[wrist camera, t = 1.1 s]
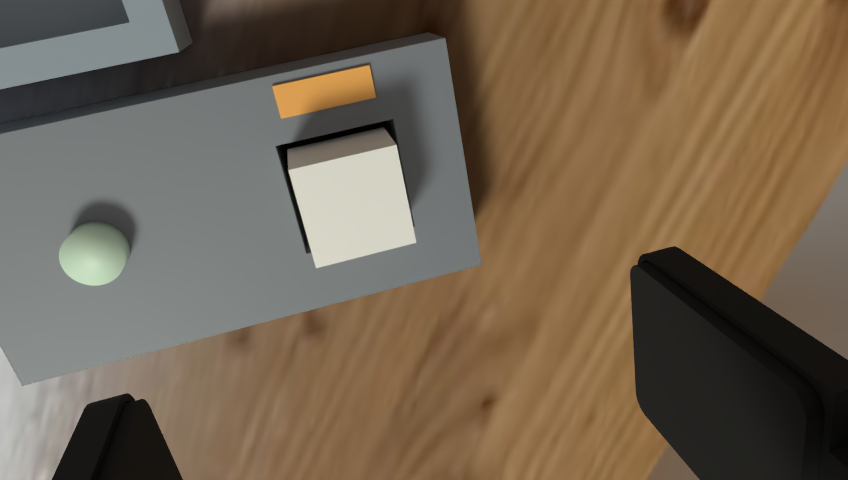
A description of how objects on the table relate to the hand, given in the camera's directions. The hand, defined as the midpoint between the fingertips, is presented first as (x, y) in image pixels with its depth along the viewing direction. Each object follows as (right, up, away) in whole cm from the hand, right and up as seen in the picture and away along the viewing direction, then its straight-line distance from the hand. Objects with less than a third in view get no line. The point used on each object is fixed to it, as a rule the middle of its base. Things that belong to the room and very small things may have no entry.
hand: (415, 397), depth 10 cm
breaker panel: (-7, +4, +12) cm, 14 cm away
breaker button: (-2, +4, +11) cm, 12 cm away
